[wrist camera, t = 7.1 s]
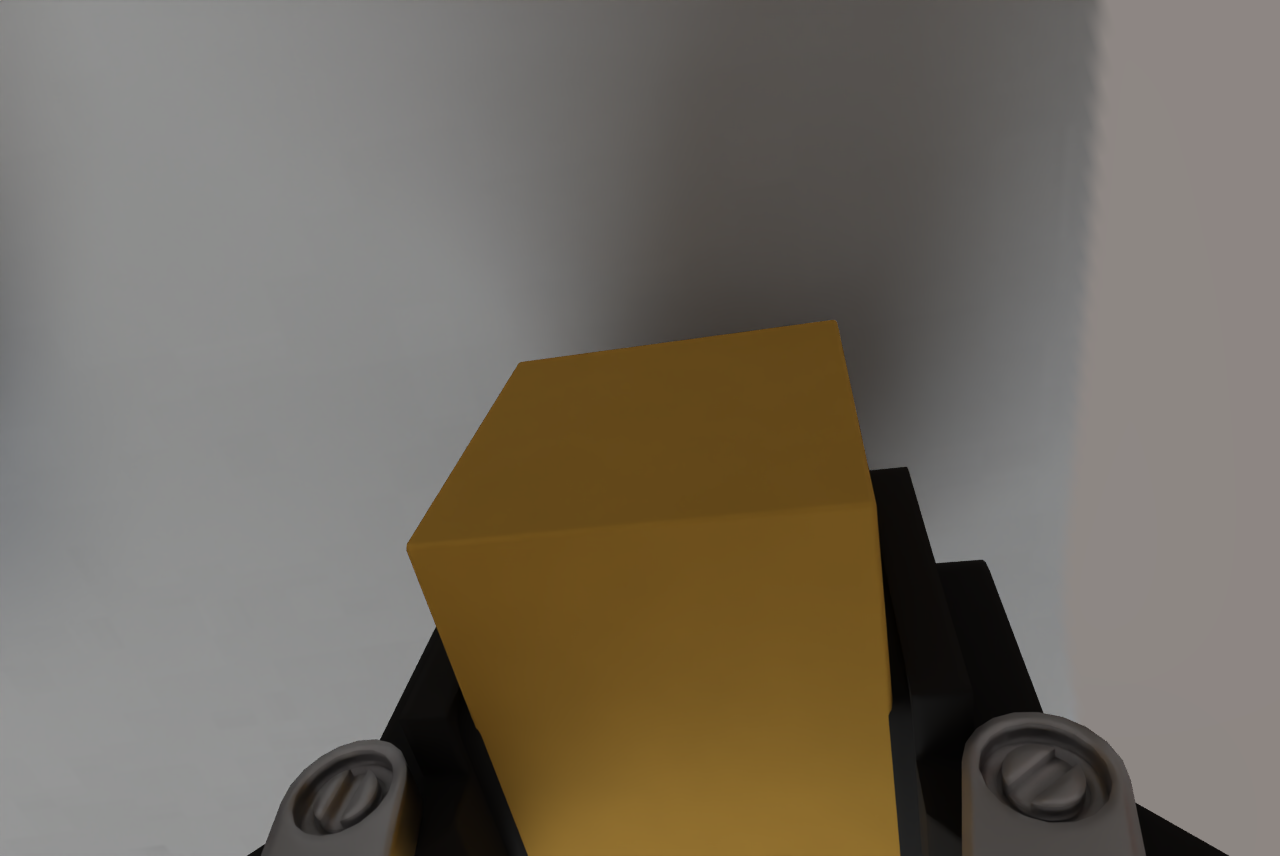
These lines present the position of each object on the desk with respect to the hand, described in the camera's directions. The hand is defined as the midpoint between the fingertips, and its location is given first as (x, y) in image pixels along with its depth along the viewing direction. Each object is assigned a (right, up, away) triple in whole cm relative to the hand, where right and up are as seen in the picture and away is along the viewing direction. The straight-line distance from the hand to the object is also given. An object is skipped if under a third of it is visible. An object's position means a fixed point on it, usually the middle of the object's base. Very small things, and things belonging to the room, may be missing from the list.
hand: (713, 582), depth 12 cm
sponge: (0, 0, 0) cm, 0 cm away
